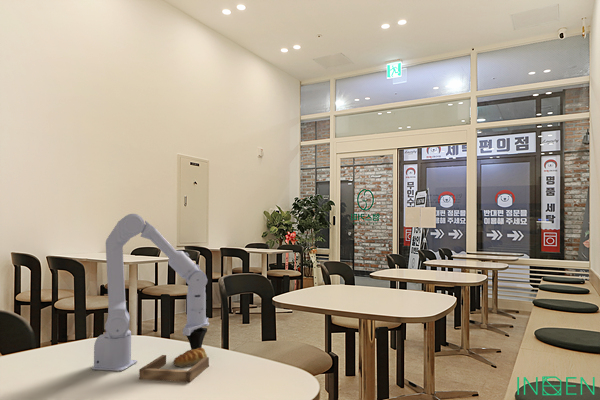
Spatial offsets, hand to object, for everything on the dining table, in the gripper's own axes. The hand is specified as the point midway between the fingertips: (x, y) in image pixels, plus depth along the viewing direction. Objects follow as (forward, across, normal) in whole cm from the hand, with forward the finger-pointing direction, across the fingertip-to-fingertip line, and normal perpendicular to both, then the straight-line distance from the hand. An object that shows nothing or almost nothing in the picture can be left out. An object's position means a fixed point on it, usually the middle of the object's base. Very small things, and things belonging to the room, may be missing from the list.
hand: (196, 353), depth 129 cm
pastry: (+1, -6, -1) cm, 6 cm away
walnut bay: (+1, -13, 0) cm, 13 cm away
